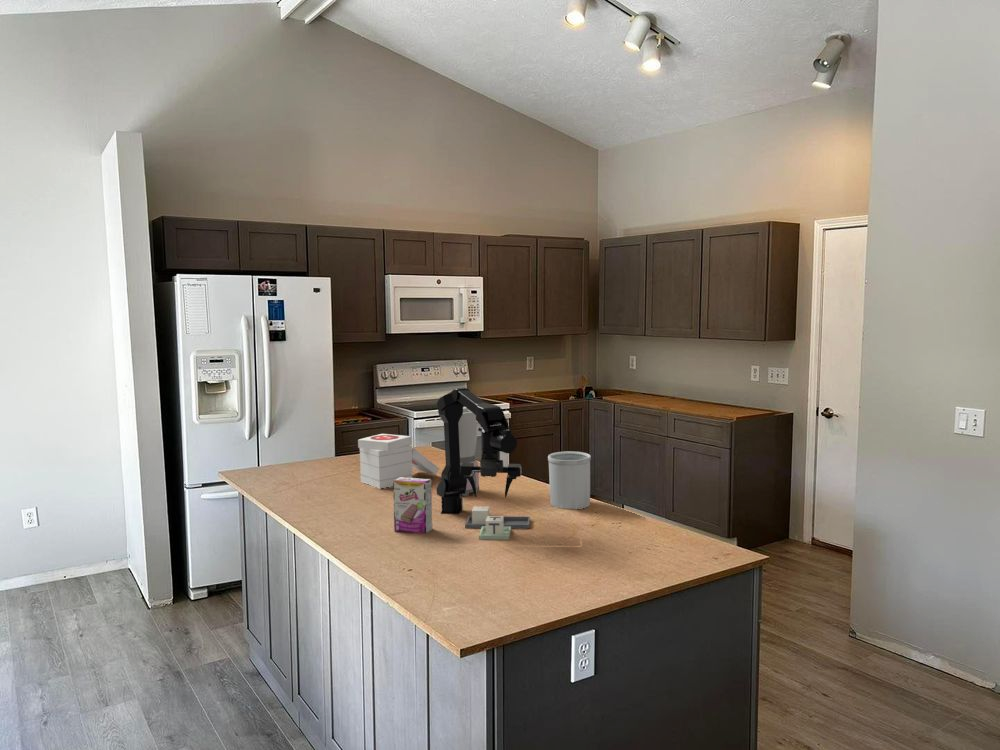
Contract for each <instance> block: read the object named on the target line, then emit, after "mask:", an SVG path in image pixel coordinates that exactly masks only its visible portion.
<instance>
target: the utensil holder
mask: <svg viewBox="0 0 1000 750" xmlns="http://www.w3.org/2000/svg"><path fill="white" fill-rule="evenodd" d="M591 459H592V456H591V454H589V453H587V452H582V451H573V450H572V451H569V450H568V451H558V452H552V453H550V454H548V456H547V461H548V476H549V481H548V482H549V499H550V501H549V502H550V506H551V505H552V506H553V507H552V506H551V507H552V508H556V509H563V510H577V509H579V510H583V508H584V509H586V507H587V508H588V507H590V505H591Z"/></svg>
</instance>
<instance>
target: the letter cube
mask: <svg viewBox="0 0 1000 750" xmlns="http://www.w3.org/2000/svg"><path fill="white" fill-rule="evenodd" d="M503 534H504V515H502V516H501V515H500V516H499V515H498V516H497V515H494V516H493V515H491V516H490V515H489V516H487V519H486V535H503Z"/></svg>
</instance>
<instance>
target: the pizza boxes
mask: <svg viewBox="0 0 1000 750" xmlns="http://www.w3.org/2000/svg"><path fill="white" fill-rule="evenodd" d="M357 448H358V449H359V462H360V463H359V466H360V467H359V470H360V483H361V482H363V483H366V484H369V485H371V486H370V487H372V486H374V487H373V488H375V487H377V488H384V489H387V488H386V487H389V488H392V487H391V486H393V480H394V479H397V478H399V477H408V478H413V469H415V470H418V471H420V472H424V473H427V474H430V475H435V476H436V475H437V474H438V472H439V470H440V468H439V467H438V466H437V465H436V464H434V463H433V462H432V461H431V460H429V459H428V458H427V457H426V456H424V455H423V454H422V453H421V452H419V451H418V450H417V449H415V448H413V447H412V436H411V435H402V434H392V433H391V434H389V433H380V434H375V435H371V436H367V437H363V438H360V439H357ZM363 483H362V484H363ZM366 484H365V485H366ZM369 485H368V486H369ZM377 488H376V489H377Z"/></svg>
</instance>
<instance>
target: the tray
mask: <svg viewBox="0 0 1000 750" xmlns="http://www.w3.org/2000/svg"><path fill="white" fill-rule="evenodd" d="M511 532H512V529H511V527H504V534H503V535H486V526H482V528H480V531H479V534H478V540H483V541H484V540H491V541H492V540H493V541H496V540H501V541H502V540H503V541H508V540H509V541H510V536H511Z"/></svg>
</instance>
